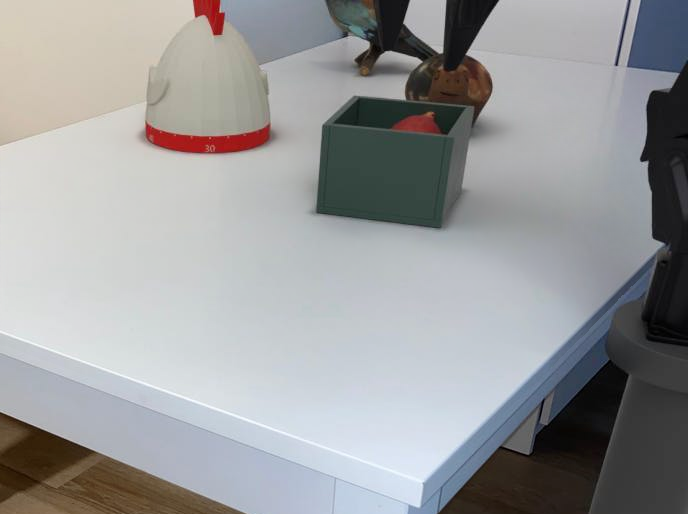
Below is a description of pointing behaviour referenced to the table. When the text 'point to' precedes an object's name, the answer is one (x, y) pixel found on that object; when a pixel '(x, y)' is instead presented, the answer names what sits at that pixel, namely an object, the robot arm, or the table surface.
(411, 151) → the open green box
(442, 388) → the table surface
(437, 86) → the decorative turtle
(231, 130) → the kitchen timer
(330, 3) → the bird figurine
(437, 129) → the onion
